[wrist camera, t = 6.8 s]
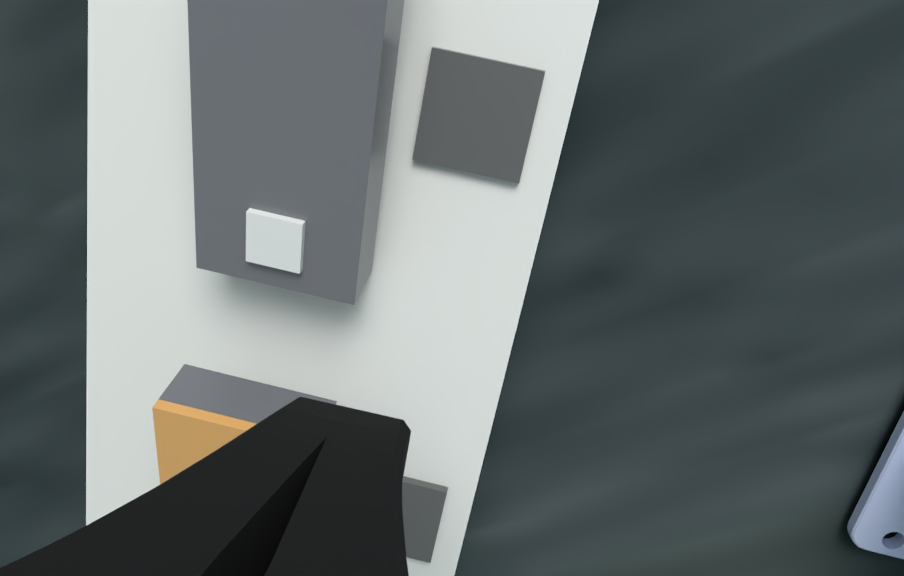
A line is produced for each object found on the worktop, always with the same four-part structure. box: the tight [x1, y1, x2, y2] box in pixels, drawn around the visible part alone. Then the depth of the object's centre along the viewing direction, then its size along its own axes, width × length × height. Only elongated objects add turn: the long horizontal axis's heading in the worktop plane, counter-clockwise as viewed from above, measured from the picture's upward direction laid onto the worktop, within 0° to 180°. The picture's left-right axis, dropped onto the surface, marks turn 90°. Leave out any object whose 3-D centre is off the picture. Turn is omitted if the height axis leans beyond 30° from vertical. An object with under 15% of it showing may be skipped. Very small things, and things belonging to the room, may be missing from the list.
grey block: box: [187, 0, 404, 305], centre depth 12 cm, size 3×7×1 cm, turn 169°
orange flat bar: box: [152, 364, 337, 484], centre depth 16 cm, size 3×7×1 cm, turn 169°
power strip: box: [86, 0, 599, 576], centre depth 17 cm, size 9×36×4 cm, turn 169°
